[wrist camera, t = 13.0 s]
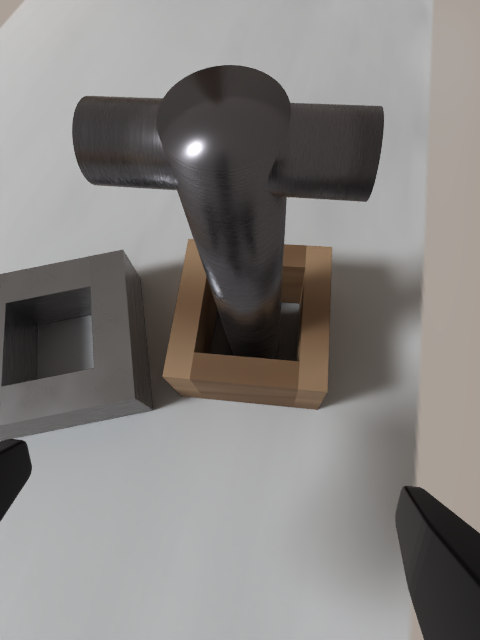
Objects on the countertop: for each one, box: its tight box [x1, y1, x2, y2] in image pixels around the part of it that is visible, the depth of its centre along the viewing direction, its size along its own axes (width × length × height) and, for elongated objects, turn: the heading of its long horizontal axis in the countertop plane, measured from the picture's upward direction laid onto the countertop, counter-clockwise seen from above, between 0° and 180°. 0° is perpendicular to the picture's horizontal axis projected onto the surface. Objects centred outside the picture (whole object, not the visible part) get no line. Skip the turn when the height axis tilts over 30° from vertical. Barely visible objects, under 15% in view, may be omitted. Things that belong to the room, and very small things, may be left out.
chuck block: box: [0, 250, 153, 441], centre depth 21 cm, size 8×8×3 cm
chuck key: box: [72, 65, 384, 359], centre depth 15 cm, size 6×3×15 cm, turn 82°
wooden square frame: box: [162, 239, 332, 410], centre depth 20 cm, size 7×7×4 cm
